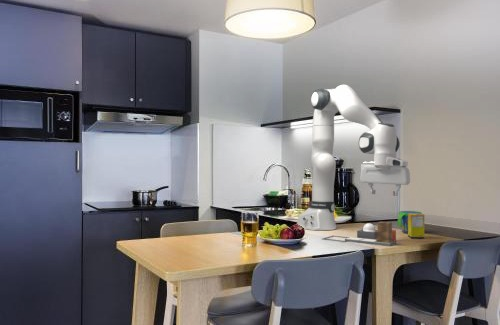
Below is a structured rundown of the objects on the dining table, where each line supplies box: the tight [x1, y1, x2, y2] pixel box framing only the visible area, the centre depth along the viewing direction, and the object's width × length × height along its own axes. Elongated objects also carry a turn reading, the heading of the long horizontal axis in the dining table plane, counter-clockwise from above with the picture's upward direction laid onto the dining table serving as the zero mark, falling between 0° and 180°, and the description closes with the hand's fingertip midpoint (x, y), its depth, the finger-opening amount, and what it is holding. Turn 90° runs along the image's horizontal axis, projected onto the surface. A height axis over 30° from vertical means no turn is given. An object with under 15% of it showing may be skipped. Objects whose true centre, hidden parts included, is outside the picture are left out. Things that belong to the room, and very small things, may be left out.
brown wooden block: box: [376, 221, 393, 243], centre depth 189 cm, size 5×5×8 cm
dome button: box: [362, 222, 376, 232], centre depth 203 cm, size 5×5×6 cm
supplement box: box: [407, 212, 425, 240], centre depth 207 cm, size 6×6×11 cm
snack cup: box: [397, 210, 423, 234], centre depth 223 cm, size 16×10×10 cm
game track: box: [344, 236, 397, 247], centre depth 193 cm, size 20×8×1 cm, turn 54°
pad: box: [321, 235, 351, 243], centre depth 201 cm, size 11×11×1 cm
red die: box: [392, 229, 397, 242], centre depth 198 cm, size 4×4×5 cm
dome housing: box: [356, 228, 378, 240], centre depth 203 cm, size 8×8×4 cm
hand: (384, 194), depth 189 cm, fingers open, 8 cm apart
